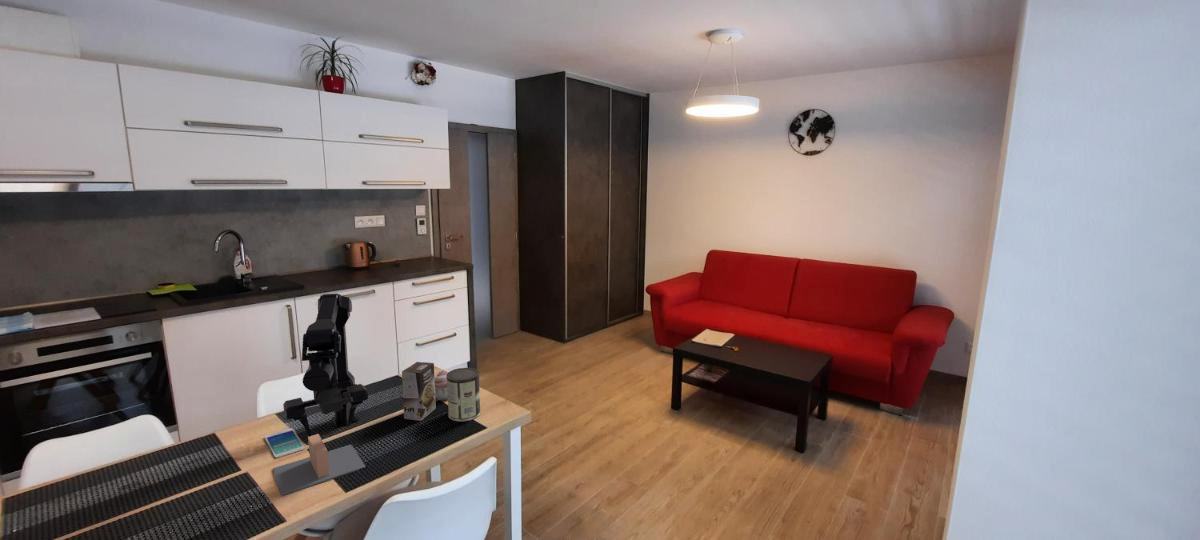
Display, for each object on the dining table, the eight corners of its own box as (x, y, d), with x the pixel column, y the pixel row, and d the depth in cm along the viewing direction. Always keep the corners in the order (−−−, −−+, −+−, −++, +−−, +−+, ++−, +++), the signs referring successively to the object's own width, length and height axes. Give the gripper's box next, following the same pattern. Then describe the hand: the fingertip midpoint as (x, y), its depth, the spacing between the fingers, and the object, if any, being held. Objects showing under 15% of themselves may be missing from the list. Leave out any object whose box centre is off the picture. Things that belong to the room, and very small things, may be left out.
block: (310, 460, 133) (307, 436, 132) (320, 457, 135) (318, 433, 133) (318, 478, 126) (316, 453, 124) (329, 474, 127) (327, 449, 126)
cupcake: (442, 405, 167) (441, 377, 165) (424, 398, 172) (423, 370, 170) (463, 395, 175) (462, 368, 173) (445, 388, 180) (444, 362, 178)
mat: (272, 469, 129) (272, 468, 129) (351, 445, 141) (351, 444, 141) (281, 496, 119) (281, 494, 119) (365, 467, 131) (365, 466, 131)
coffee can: (465, 404, 168) (464, 364, 166) (487, 412, 163) (486, 371, 160) (441, 416, 160) (439, 374, 157) (463, 425, 154) (461, 382, 152)
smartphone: (274, 457, 134) (263, 436, 145) (275, 460, 134) (263, 438, 145) (305, 448, 139) (292, 427, 150) (306, 450, 139) (293, 430, 150)
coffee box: (421, 421, 156) (419, 373, 153) (403, 419, 157) (400, 371, 154) (436, 408, 165) (434, 362, 162) (419, 406, 166) (416, 360, 163)
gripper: (286, 395, 115) (293, 456, 118) (371, 376, 127) (375, 432, 130) (280, 379, 124) (286, 436, 127) (360, 363, 136) (364, 415, 139)
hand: (329, 430), depth 130 cm, fingers open, 9 cm apart
